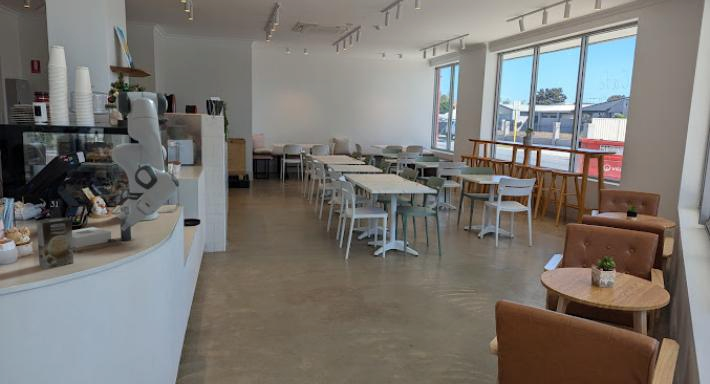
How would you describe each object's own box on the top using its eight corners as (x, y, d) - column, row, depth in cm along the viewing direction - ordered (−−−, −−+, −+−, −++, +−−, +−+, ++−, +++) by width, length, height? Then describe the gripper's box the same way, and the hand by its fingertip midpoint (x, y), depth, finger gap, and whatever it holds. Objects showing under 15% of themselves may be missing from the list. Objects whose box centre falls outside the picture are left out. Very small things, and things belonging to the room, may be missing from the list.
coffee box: (45, 268, 166) (42, 223, 164) (39, 265, 170) (35, 220, 168) (74, 263, 173) (71, 219, 171) (67, 259, 177) (64, 216, 175)
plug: (119, 240, 206) (117, 217, 205) (128, 238, 210) (126, 215, 208) (124, 241, 204) (123, 218, 203) (133, 239, 207) (132, 217, 206)
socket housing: (59, 242, 197) (58, 232, 196) (93, 236, 208) (93, 227, 208) (76, 247, 189) (75, 237, 188) (111, 241, 201) (110, 231, 200)
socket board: (49, 244, 198) (49, 239, 197) (93, 236, 212) (93, 231, 212) (76, 253, 185) (76, 248, 185) (121, 244, 200) (121, 239, 200)
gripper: (145, 195, 216) (122, 217, 215) (138, 203, 197) (112, 227, 196) (156, 205, 218) (134, 227, 217) (150, 213, 199) (125, 238, 197)
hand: (123, 227), depth 206 cm, fingers open, 5 cm apart
